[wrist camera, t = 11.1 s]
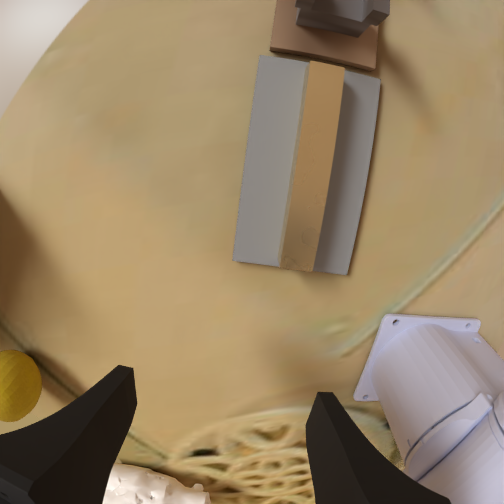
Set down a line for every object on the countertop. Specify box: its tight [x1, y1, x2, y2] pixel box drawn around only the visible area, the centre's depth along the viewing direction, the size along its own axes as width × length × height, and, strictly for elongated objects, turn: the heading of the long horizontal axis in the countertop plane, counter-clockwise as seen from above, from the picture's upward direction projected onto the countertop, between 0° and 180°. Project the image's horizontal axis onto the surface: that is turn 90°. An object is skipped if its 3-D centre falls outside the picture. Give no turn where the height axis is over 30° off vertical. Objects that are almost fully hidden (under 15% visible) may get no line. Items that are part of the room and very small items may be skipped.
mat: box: [232, 55, 381, 275], centre depth 18 cm, size 7×12×1 cm, turn 172°
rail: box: [278, 60, 345, 272], centre depth 16 cm, size 2×11×2 cm, turn 172°
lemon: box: [0, 350, 42, 422], centre depth 19 cm, size 6×6×8 cm
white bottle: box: [102, 463, 211, 504], centre depth 24 cm, size 8×19×8 cm, turn 94°
